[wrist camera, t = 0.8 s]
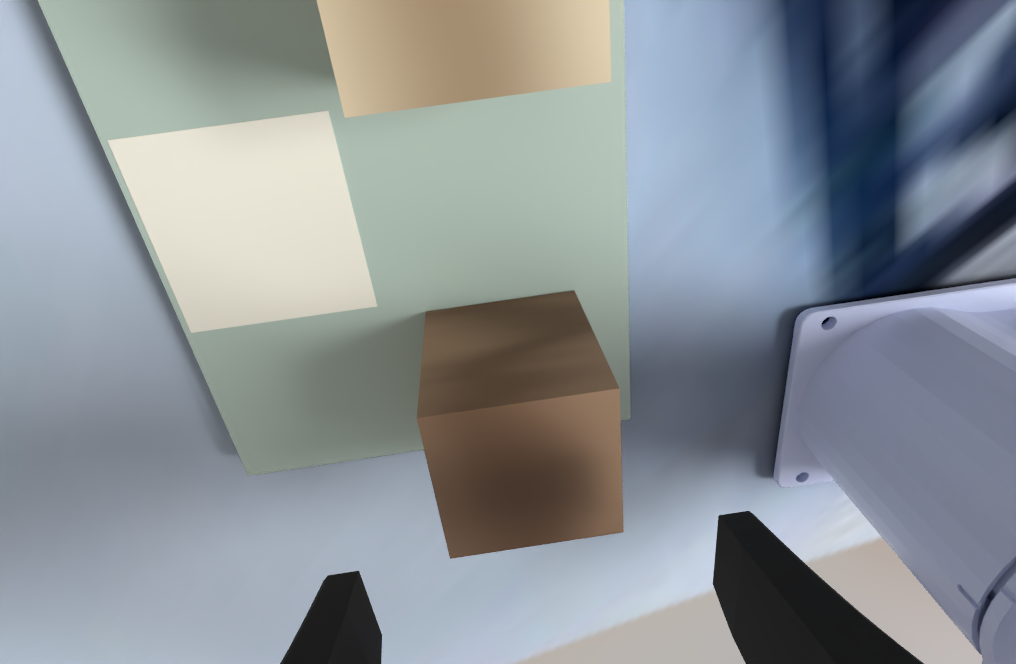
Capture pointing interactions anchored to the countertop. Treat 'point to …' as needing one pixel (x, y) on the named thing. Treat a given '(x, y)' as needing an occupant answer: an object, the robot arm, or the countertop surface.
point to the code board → (340, 212)
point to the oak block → (461, 49)
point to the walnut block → (519, 424)
